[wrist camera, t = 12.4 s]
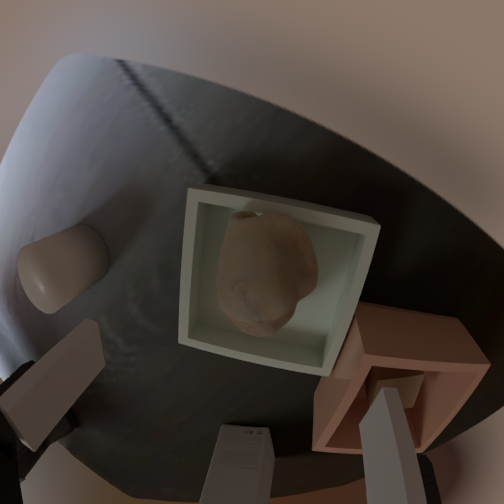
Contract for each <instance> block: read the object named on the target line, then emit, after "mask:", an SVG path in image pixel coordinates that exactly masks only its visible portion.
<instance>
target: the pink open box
mask: <svg viewBox="0 0 504 504" xmlns="http://www.w3.org/2000/svg"><path fill="white" fill-rule="evenodd" d="M490 365H491V364H490V362H489V361H488V359H487V358H486V356H485V355H484V354H483V352H482V351H481V349H480V348H479V346H478V345H477V344H476V342H475V341H474V339H473V338H472V337H471V335H470V334H469V333H468V331H467V330H466V328H465V327H464V326H463V324H462V323H461V322H460V321H459V319H458V318H455V317H449V316H443V315H436V314H430V313H425V312H419V311H413V310H407V309H401V308H396V307H390V306H385V305H379V304H374V303H368V302H363V301H358V303H357V306H356V309H355V312H354V315H353V317H352V320H351V323H350V326H349V328H348V331H347V333H346V336H345V339H344V341H343V344H342V346H341V349H340V351H339V354H338V356H337V358H336V361H335V363H334V366H333V368H332V370H331V373H330V375H329V377H328V376H322V377H321V379H320V382H319V384H318V386H317V388H316V391H315V393H314V417H313V442H312V451H321V452H333V453H349V454H363V452H362V443H361V436H360V428H359V424H360V422H361V421H362V419H363V418H364V416H365V415H366V413H367V412H368V410H369V407H368V401H367V395H366V389H365V384H364V381H365V378H366V376H367V374H368V373H369V371H370V369H371V367H372V366H380V367H389V368H399V369H411V370H423V372H424V374H425V375H424V378H423V381H422V384H421V387H420V390H419V392H418V395H417V398H416V401H415V403H414V406H413V407H412V408H406V409H404V412H405V416H406V419H407V422H408V426H409V429H410V433H411V437H412V440H413V444H414V448H415V452H416V453H422V452H423V451H424V450H425V449H426V448H427V447H428V446H429V445H430V444H431V443H432V442H433V441H434V440H435V438H436V437H437V436H438V435H439V434H440V433H441V432H442V431H443V429H444V428H445V427H446V426H447V425H448V423H449V422H450V421H451V420H452V419H453V417H454V416H455V415H456V414H457V412H458V411H459V410H460V409H461V407H462V406H463V405H464V403H465V402H466V401H467V399H468V398H469V396H470V395H471V394H472V392H473V391H474V389H475V388H476V387H477V385H478V384H479V382H480V381H481V379H482V378H483V376H484V375H485V373H486V371H487V370H488V368H489V367H490Z"/></svg>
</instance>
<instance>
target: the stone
mask: <svg viewBox="0 0 504 504" xmlns="http://www.w3.org/2000/svg"><path fill="white" fill-rule="evenodd" d="M317 279H318V265H317V259H316V255H315V252H314V249H313V245H312V242H311V240H310V237H309V234H308V233H307V231H306V229H305V228H304V226H303V225H302V224H301V223H300V222H299V221H298V220H296V219H294V218H292V217H290V216H288V215H284V214H281V213H278V212H277V213H267V214H263V215H260V216H258V215H257V214H256V213H254V212H253V211H245V210H244V211H239V212H236V213H234V214H232V215H231V217H230V218H229V220H228V224H227V228H226V233H225V235H224V239H223V241H222V244H221V248H220V254H219V261H218V266H217V273H216V285H217V298H218V303H219V306H220V308H221V309H222V310H223V312H224V314H225V315H226V317H227V318H229V319H230V320H232V321H233V323H234V324H235V325H236V327H237V328H238V329H240V330H241V331H242V332H244V333H247V334H250V335H252V336H256V337H265V336H270V335H273V334H274V333H275V332H277V331H278V330H279V329H280V328H282V327H283V326H284V325H285V324H286V323H287V322H288V321H289V320H290V319H291V318H292V316H293V315H294V312H295V309H296V306H297V303H298V302H299V301H300V300H301V299H303V298H305V297H306V296H308V295H309V294H310V293H312V292H313V290H314V289H315V288H316V285H317Z"/></svg>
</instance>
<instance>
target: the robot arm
mask: <svg viewBox="0 0 504 504" xmlns="http://www.w3.org/2000/svg"><path fill="white" fill-rule="evenodd" d="M105 365H106V364H105V359H104V354H103V349H102V343H101V337H100V331H99V324H98V323H97V322H95V321H92V320H90V319H87V318H86V319H85V320H84V321H82V322H81V323H80V324H79V325H78V326H77V327H75V328H74V329H73V330H72V331H71V332H70V333H68V334H67V335H66V336H65V337H64V338H63V339H62V340H60V341H59V342H58V343H57V344H56V345H55V346H54V347H53V348H51V349H50V350H49V351H48V352H47V353H46V354H45V355H44V356H43V357H42V358H40V359H39V360H38V361H37V362H34V361H33V360H31V361H29V362H27V363H24V364H22V365H21V366H20V367H19V368H18V369H17V370H16V371H15V373H13V374H11V375H10V377H8V378H7V379H6V380H5V381H4V382H3V383H2V384H1V385H0V504H23V500H22V494H21V488H20V483H21V482H22V481H24V480H25V477H26V476H27V474H28V473H29V472H30V470H31V469H32V468H33V466H34V465H35V464H36V462H37V461H38V460H39V458H40V457H41V456H42V454H43V453H44V452H45V450H46V449H47V448H48V447H49V446H50V445H51V444H52V443H54V442H56V441H58V440H60V439H61V438H63V437H65V436H66V435H69V434H70V433H71V432H72V431H73V430H74V429H75V427H76V426H77V420H76V418H75V416H74V414H73V412H72V411H71V409H70V407H71V406H72V405H73V404H74V402H75V401H76V400H77V399H78V398H79V396H80V395H81V394H82V393H83V392H84V390H85V389H86V388H87V387H88V386H89V384H90V383H91V382H92V381H93V380H94V378H95V377H96V376H97V375H98V374H99V373H100V371H101V370H102V369H103V368H104V367H105ZM359 428H360V436H361V443H362V452H363V460H364V470H365V479H366V492H367V504H442V503H441V499H440V494H439V490H438V486H437V484H436V482H437V481H436V478H435V476H434V470H433V466H432V463H431V462H430V460H429V459H428V458H427V456H426V455H416V452H415V448H414V444H413V440H412V437H411V433H410V429H409V426H408V422H407V419H406V416H405V412H404V409H403V406H402V403H401V399H400V396H399V393H398V390H397V388H388V387H382V388H381V390H380V392H379V394H378V395H377V397H376V399H375V400H374V402H373V404H372V405H371V407H370V408H369V410H368V412H367V413H366V415H365V416H364V418H363V419H362V421H361V422H360V424H359Z"/></svg>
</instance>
